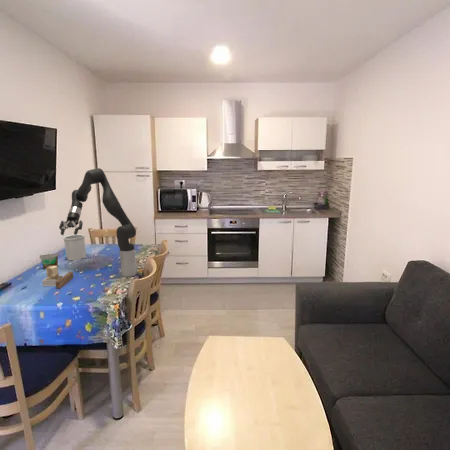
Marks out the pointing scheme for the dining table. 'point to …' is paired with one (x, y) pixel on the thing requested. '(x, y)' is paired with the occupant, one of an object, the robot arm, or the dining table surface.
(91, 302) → the dining table surface
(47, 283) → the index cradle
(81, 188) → the robot arm
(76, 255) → the utensil holder
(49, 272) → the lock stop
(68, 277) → the rail
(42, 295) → the dining table surface
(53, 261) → the food container
